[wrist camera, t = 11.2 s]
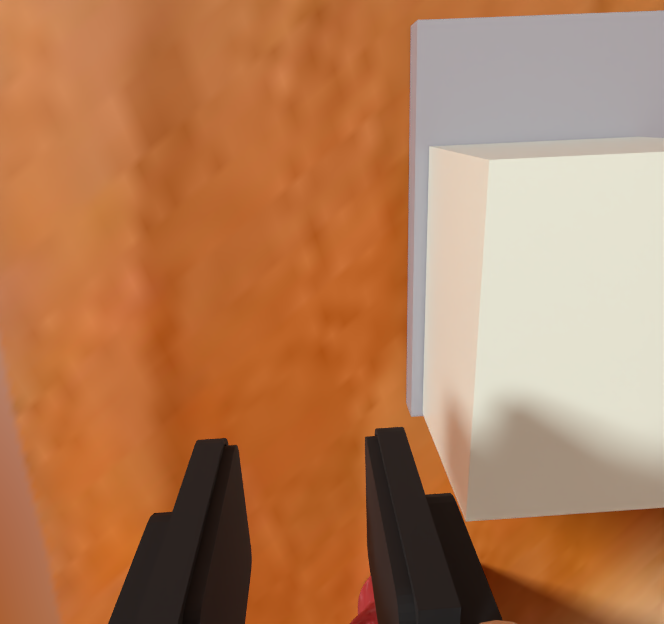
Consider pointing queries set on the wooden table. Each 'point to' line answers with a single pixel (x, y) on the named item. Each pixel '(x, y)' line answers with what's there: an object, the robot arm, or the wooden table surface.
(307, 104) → the wooden table surface
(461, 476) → the housing cover
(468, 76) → the base board
